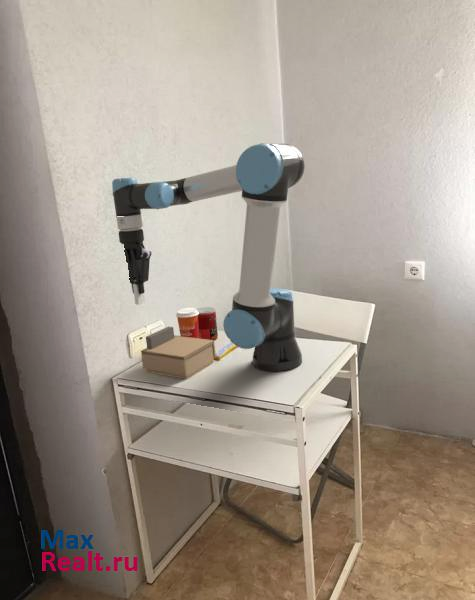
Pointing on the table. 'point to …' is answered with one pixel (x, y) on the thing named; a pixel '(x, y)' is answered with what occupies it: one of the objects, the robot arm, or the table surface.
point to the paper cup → (188, 322)
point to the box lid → (171, 351)
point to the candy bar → (225, 351)
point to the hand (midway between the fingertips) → (140, 303)
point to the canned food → (207, 323)
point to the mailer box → (193, 363)
